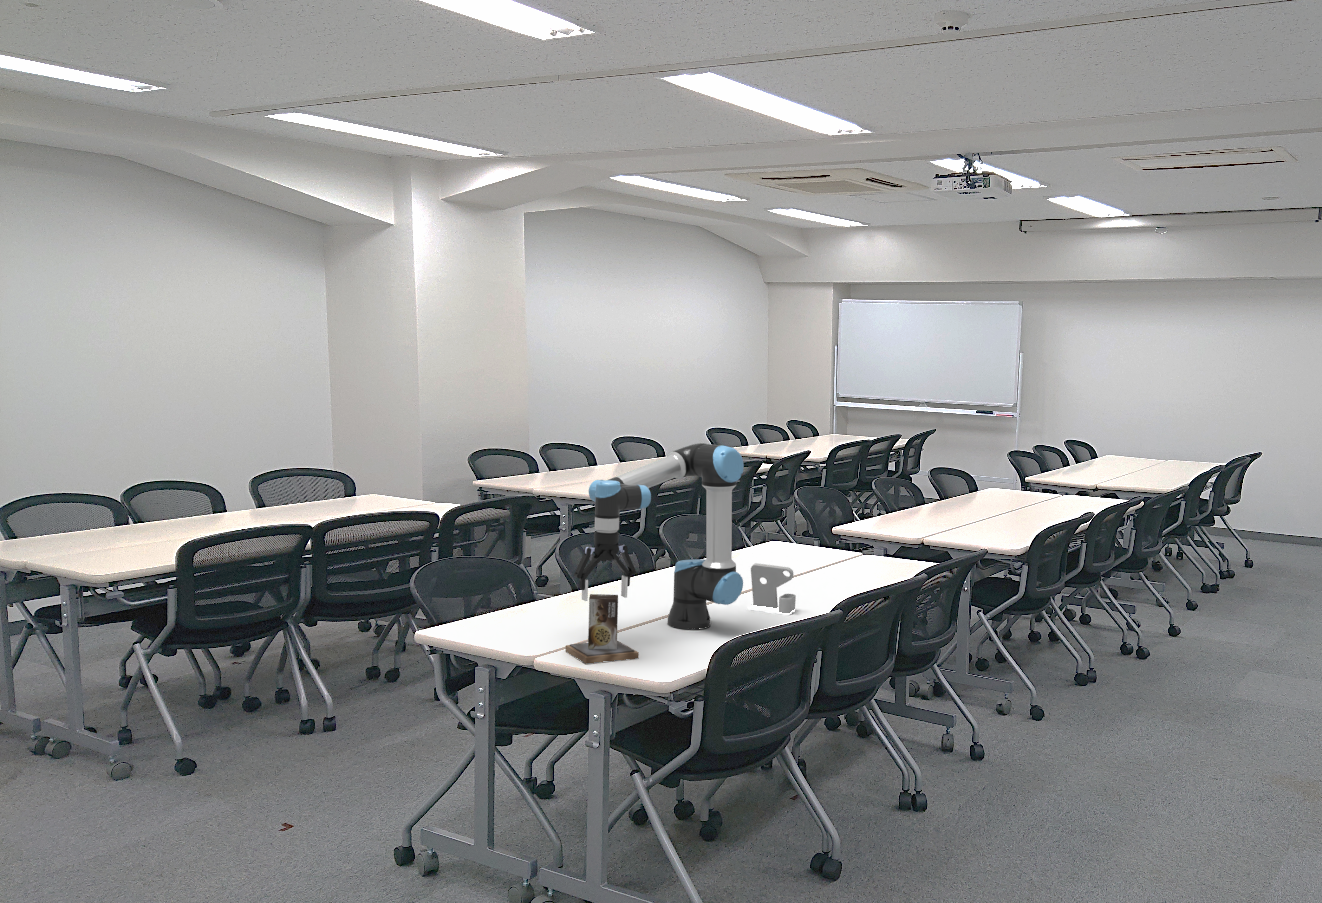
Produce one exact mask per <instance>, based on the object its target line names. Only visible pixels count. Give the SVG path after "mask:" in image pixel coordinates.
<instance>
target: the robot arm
mask: <svg viewBox="0 0 1322 903" xmlns="http://www.w3.org/2000/svg"><path fill="white" fill-rule="evenodd" d="M743 473H744V461H743V457H742V455H741V453H740V452H739V451H738V450H737V449H736V448H734V447H730V446H728V445H722V444H712V443H710V444H709V443H701V442H700V443H694V444H690V445H687V446H683V447H681V448H678V449H676V450H673V451H671V452H669V453H668V454H667V455H666V456H665V457H663V458H661V459H658V460H656V461H653V462H651V463H648V464H645V465H643V466H640V467H637V468H636V469H632V470H630V471H627V472H625V473H622V474H620V475H617V476H615V477H611V478H609V479H607V480H606V479H605V480H604V479H596V480H593V481H592V482H590V485H589V487H588V497H589V498H590V500H591V501H593V502H594V504H595V505H594V508H595V509H594V530H595V531H594V532H593V533H594V534H593V535H594V536H593V537H594V538H593V543H594V546H592V547H589V546H584V550H583V555H582V556H581V559H580V561H579V563H578V564H577V567H576V569H575V572H574V573H573V577H575V578H577V579H579V590H581V600H582V601H584V602H589V597H588V596H589V595H588V593H589V579H587V578H588V577H589V575H590V574H591V572H593V570H594V569H595V567H596V566H597V565H598V564H599V563H600V562H606V561H607V562H609V561H611V562H612V561H613V562H614V564H616V565H617V567H618V568H619V569H620V571H621V572H622V573H623V575H621V582H620V583H621V584H620V585H621V590H620V592H621V593H620V596H621V597H622V598H625V599H626V598H628V587H630V584H631V577H632V576H633V575H636V574H637V571H636V569H635V568H636V567H635V566H634V563H633V561H632V559H631V557H630V554H629V552H628V551H629V550H628V548H629V547H628V545H625V544H620V545H619V539H620V535H619V534H620V533H619V530H620V512H622V511H630V510H631V511H632V510H641V509H646V508H647V507H649V505H650V504H651V501H652V494H651V491H650V488H652V487H654V486H658V485H660V484H662V483H665V482H667V481H670V480H672V479H677V480H679V479H683V478H686V477H695V478H696V477H697V478H701V486H702V487H703V488H704V489H705V490H706V496H705V497H706V500H705V501H706V502H705V503H706V517H705V518H706V522H705V523H706V526H705V527H706V530H705V531H706V552H705V553H706V559H702V558H701V559H699V558H697V559H683V560H678V561H677V562H675V565H674V573H673V574H674V575H673V600H672V601H673V602H672V605H671V607H670V610H669V614H668V615H667V625H668V626H670V627H673V628H676V629H680V628H681V629H680V630H691V629H695V630H700V629H699V628H705V627H708V626H710V627H711V617H710V612H709V609H708V606H707V601H708V602H711V603H715V604H717V605H724V606H726V605H727V606H729V605H732V604H734V602H736V601H737V600H738V599H739V597H740V596H741V594H742V591H743V588H744V580H743V579H744V578H743V577H742V575H741V574H740V573H739V572H737V563H736V562H735V561H734V559H733V556H732V554H733V553H732V542H733V541H732V540H733V539H732V535H733V534H732V532H733V531H732V530H733V528H732V527H733V526H732V520H733V513H732V512H733V511H732V510H733V508H732V507H733V505H732V504H733V503H732V502H733V501H732V500H733V492H732V491H733V490H734V488H735V487H737V481H738V480H740V479H741V477H742V475H743ZM618 552H620V553H621V555H622V558H623V561H624V563H625V564H624V563H623V562H622V560H621V559H620V557H619V556H618V555H617V554H618ZM593 553H594V555H593V556H592V557H591V555H592V554H593ZM590 558H591V560H590ZM589 560H590V561H589ZM588 562H589V563H588ZM708 628H709V627H708ZM705 629H706V628H705Z"/></svg>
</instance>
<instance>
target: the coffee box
mask: <svg viewBox="0 0 1322 903" xmlns="http://www.w3.org/2000/svg"><path fill="white" fill-rule="evenodd" d="M618 615H619V595H618V594H602V593H601V594H597V593H596V594H595V593H594V594H593V593H590V594H589V597H588V631H587V632H588V634H587V643H588V649H605V650H617V641H618V621H619V619H618V618H619V616H618Z"/></svg>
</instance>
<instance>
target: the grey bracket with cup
mask: <svg viewBox="0 0 1322 903" xmlns="http://www.w3.org/2000/svg"><path fill="white" fill-rule="evenodd" d="M784 572H787V573H789V576H787V575H785V574H784ZM750 576H751V577H750V578H751V579H750V580H751V590H752V592H751V593H752V600H753V601H752V602H753V605H757V606H766V607H773V608H777V607H779V612H782V613H790V612H791V611H792V610H794V609H796V601H797V600H796V599H797V598H796V597H797V596H796V594H794V593H784V594H783V595H780V596H779V598H778V588H779V587H780V586H782V585H784V584H786V583H788V582H790V581H791V580H793V578H794V570H793V569H792V568H791V567H789V566H783V565H782V566H781V565H773V564H764V563H757V562H755V563H754V564H752V566H751V567H750ZM761 579H765V580H766V583H762V581H761Z"/></svg>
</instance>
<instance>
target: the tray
mask: <svg viewBox="0 0 1322 903" xmlns="http://www.w3.org/2000/svg"><path fill="white" fill-rule="evenodd" d="M565 651H566V652H565V653H567V652H568V653H569V655H570V654H571V655H570V656H572V655H573V656H575V657H576V658H578V659H580V660H581V661H583V662H584V663H593V664H595V663H594V662H602V663H604V662H603V661H612V662H615V661H614V660H621V661H627V660H626V659H630V660H636V659H635V658H638V659H639V655H640V654H639V651H637V650H635V648H634V649H633V648H632V647H630V646H628V645H626V644H624V643H623V642H621V641H619V640H617V650H605V649H588V642H581V643H579V642H578V643H570V644H567V645H565ZM568 653H567V654H568ZM573 656H572V657H573ZM575 657H574V658H575ZM576 658H575V659H576ZM578 659H577V660H578ZM580 660H579V661H580ZM581 661H580V662H581ZM583 662H582V663H583ZM584 663H583V664H584Z"/></svg>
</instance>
